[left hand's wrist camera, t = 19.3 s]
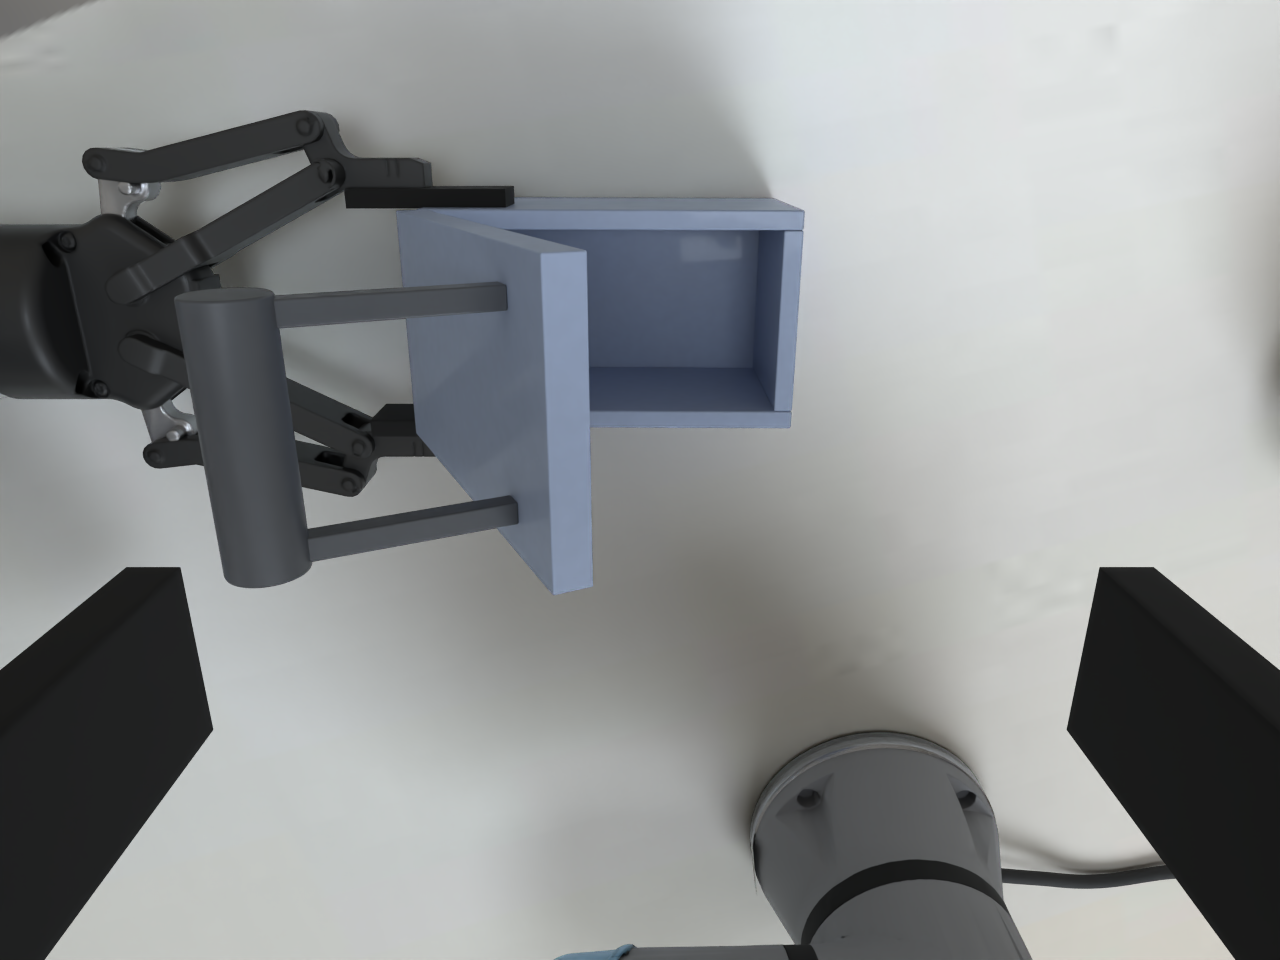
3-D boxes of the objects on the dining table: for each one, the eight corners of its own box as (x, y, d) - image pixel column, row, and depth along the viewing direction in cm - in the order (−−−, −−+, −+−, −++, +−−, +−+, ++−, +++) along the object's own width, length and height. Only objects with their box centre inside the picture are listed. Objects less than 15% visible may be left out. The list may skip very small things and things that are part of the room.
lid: (587, 250, 21) (164, 271, 17) (593, 587, 24) (236, 666, 21) (426, 209, 35) (168, 216, 31) (444, 430, 38) (212, 460, 34)
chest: (774, 198, 43) (805, 210, 35) (765, 378, 47) (790, 428, 38) (459, 197, 43) (415, 209, 35) (471, 377, 47) (433, 427, 38)
